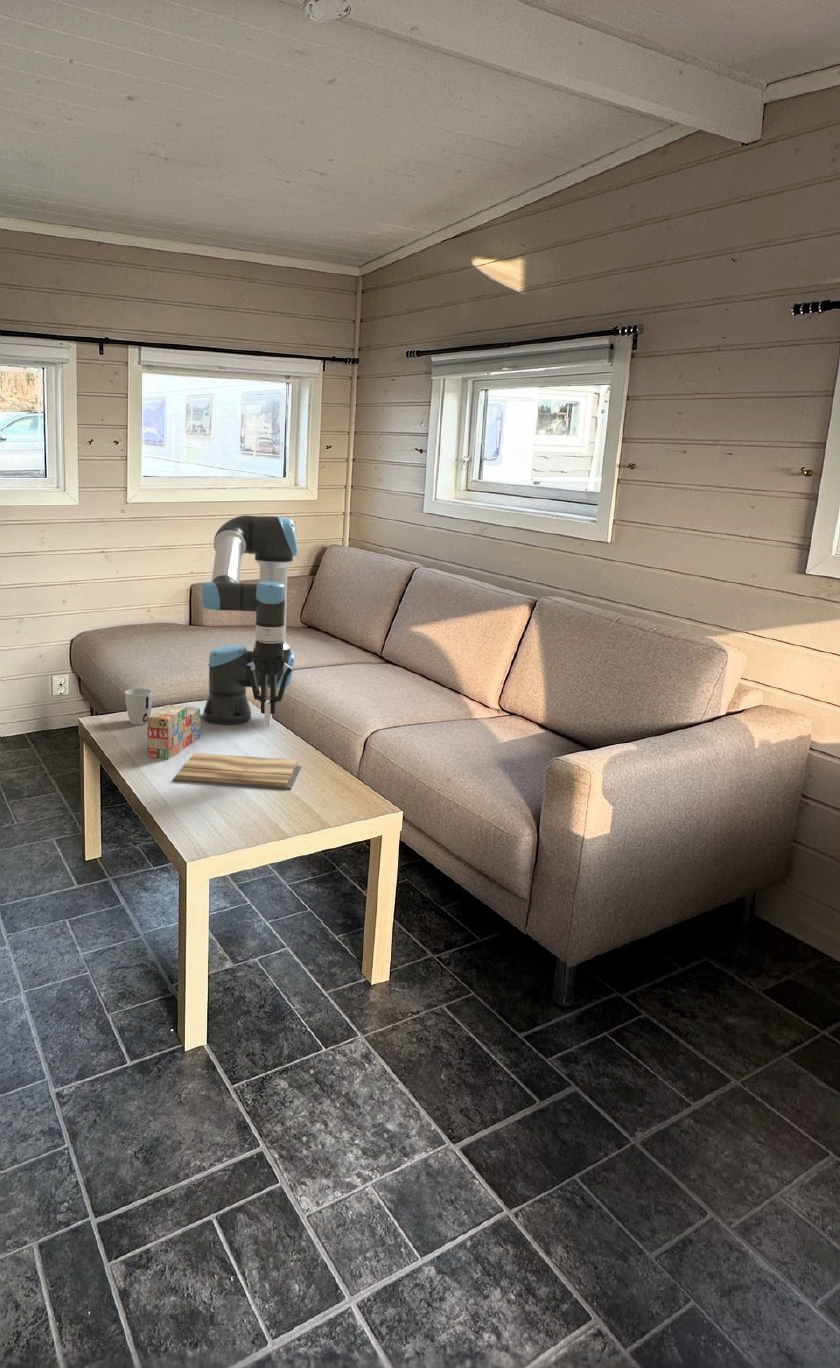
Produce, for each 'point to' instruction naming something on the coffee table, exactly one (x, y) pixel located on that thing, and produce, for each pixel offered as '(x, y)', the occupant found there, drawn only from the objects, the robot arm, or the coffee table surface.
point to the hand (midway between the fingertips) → (268, 724)
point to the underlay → (245, 784)
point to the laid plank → (234, 777)
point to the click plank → (241, 764)
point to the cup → (138, 705)
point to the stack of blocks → (172, 730)
